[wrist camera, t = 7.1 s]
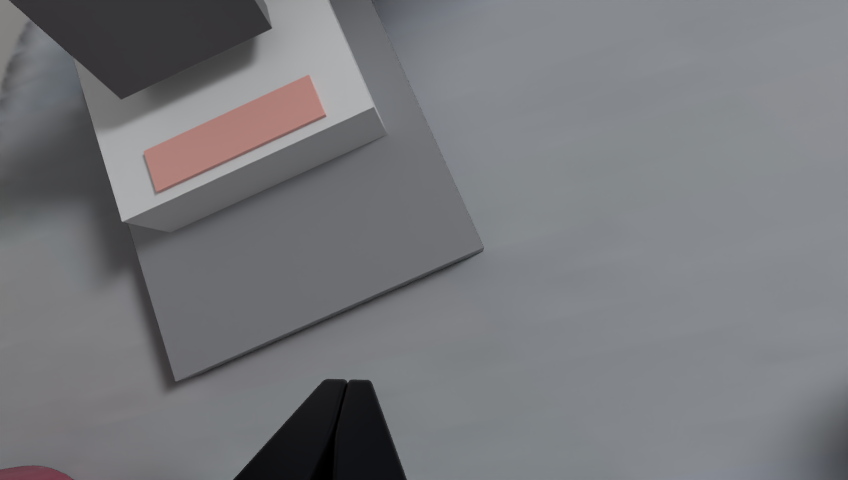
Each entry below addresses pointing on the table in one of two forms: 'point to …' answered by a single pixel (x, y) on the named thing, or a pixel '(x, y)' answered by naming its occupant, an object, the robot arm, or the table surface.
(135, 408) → the table surface
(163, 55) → the lever
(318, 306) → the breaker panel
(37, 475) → the plant pot
